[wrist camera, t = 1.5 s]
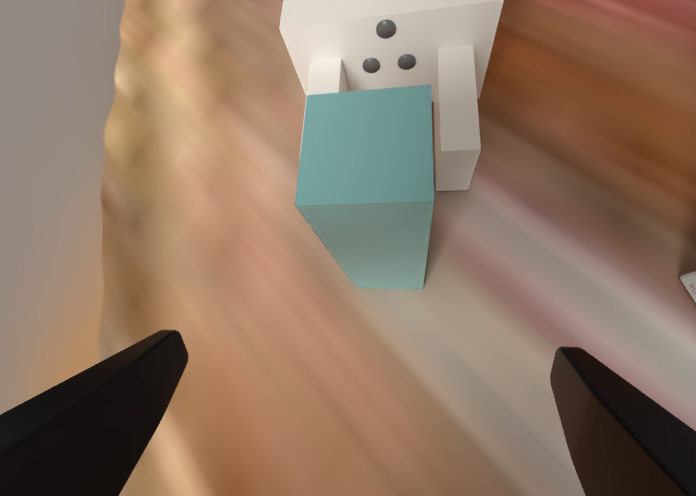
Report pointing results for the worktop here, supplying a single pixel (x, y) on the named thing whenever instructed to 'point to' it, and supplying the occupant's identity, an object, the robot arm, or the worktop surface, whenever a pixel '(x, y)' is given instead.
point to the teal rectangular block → (370, 182)
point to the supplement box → (690, 283)
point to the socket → (402, 61)
